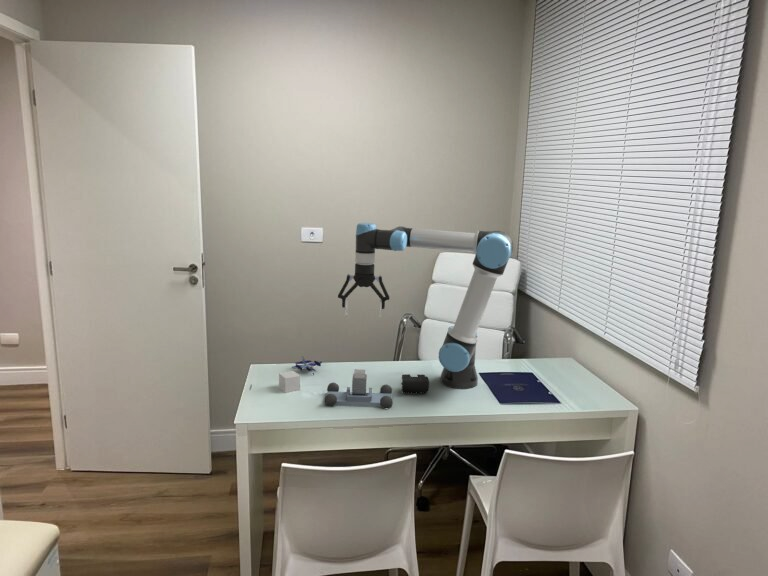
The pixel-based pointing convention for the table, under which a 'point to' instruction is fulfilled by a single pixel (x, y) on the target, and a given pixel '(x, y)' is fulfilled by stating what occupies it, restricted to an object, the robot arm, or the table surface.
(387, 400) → the chassis
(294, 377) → the light grey cube
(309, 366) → the toy airplane
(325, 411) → the table surface
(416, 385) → the black arched housing
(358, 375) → the capped grey pillar
